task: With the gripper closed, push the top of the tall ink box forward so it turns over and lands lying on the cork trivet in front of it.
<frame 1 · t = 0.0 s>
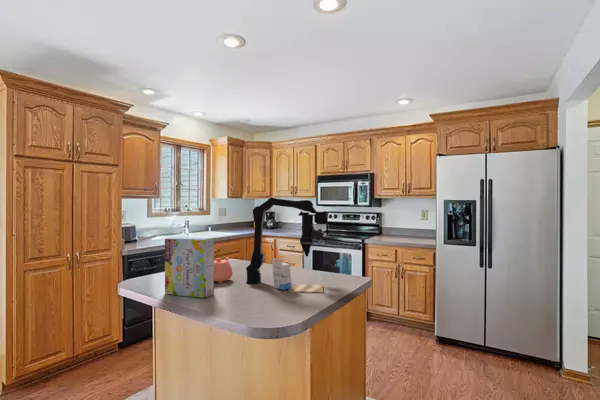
hand: (307, 254, 172), 15 cm above the countertop, fingers open, 9 cm apart
cork trivet: (306, 289, 161), on the countertop
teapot: (219, 281, 178), on the countertop
ink box: (282, 288, 162), on the countertop, touching cork trivet
snack box: (189, 294, 152), on the countertop
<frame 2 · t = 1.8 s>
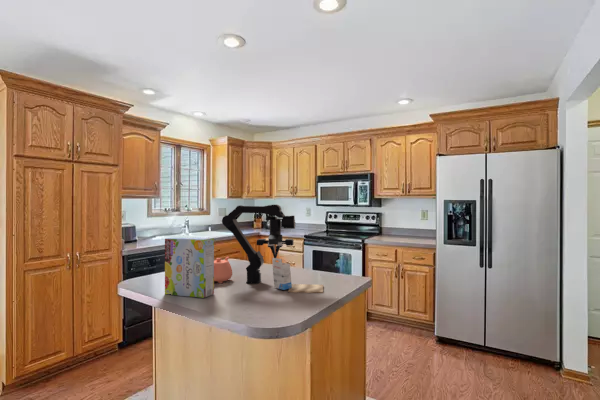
hand: (275, 258, 173), 12 cm above the countertop, fingers closed
nothing on the countertop moved.
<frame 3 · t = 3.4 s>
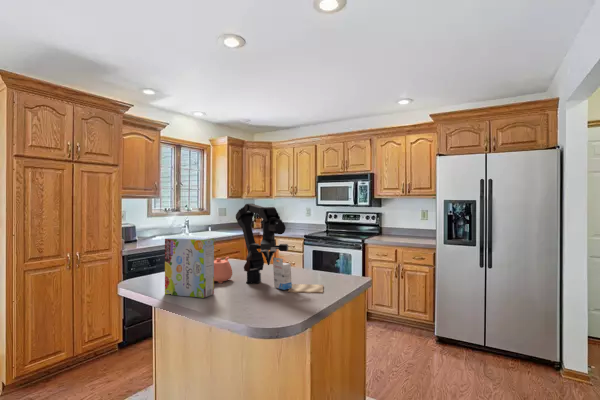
hand: (268, 265, 163), 11 cm above the countertop, fingers closed
ink box: (282, 288, 162), on the countertop, touching cork trivet, gripper
everything else where it was.
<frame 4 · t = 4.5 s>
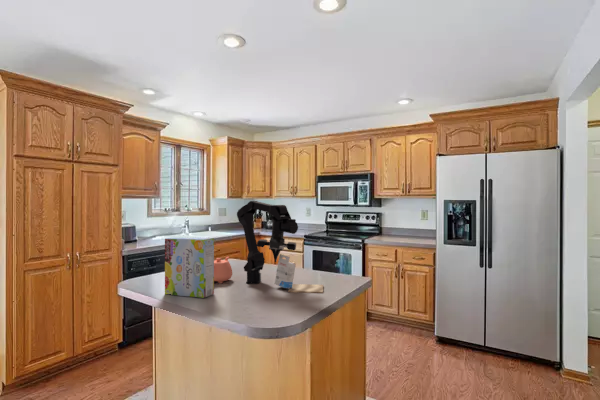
hand: (275, 261, 164), 12 cm above the countertop, fingers closed
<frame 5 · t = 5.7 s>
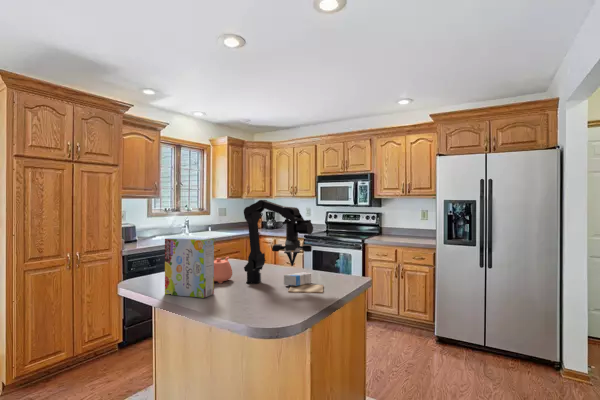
hand: (292, 265, 161), 11 cm above the countertop, fingers closed
ink box: (289, 280, 164), point 3 cm above the countertop, touching cork trivet
everything else where it was.
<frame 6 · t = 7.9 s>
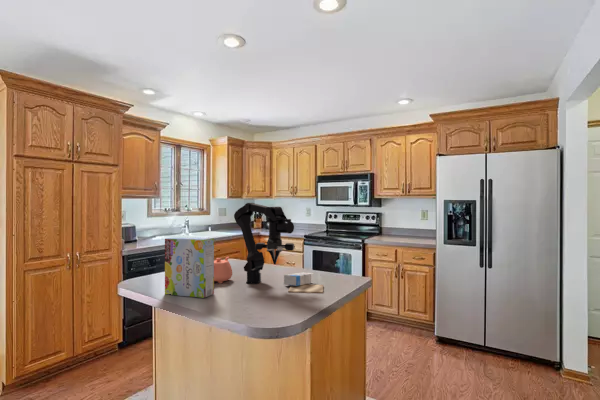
hand: (274, 264, 164), 11 cm above the countertop, fingers closed
ink box: (289, 280, 164), point 3 cm above the countertop, touching cork trivet
everything else where it was.
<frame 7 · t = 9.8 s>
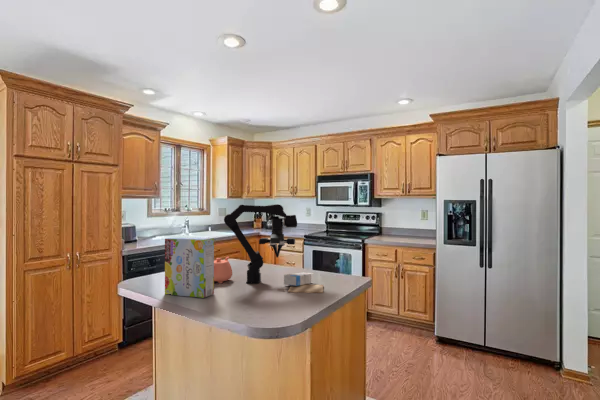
hand: (277, 257, 177), 12 cm above the countertop, fingers closed
nothing on the countertop moved.
at the end: ink box tilted 94°; ink box inside the target area (7.7 cm from its centre), point 3.4 cm above the countertop; the gripper is holding nothing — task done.
